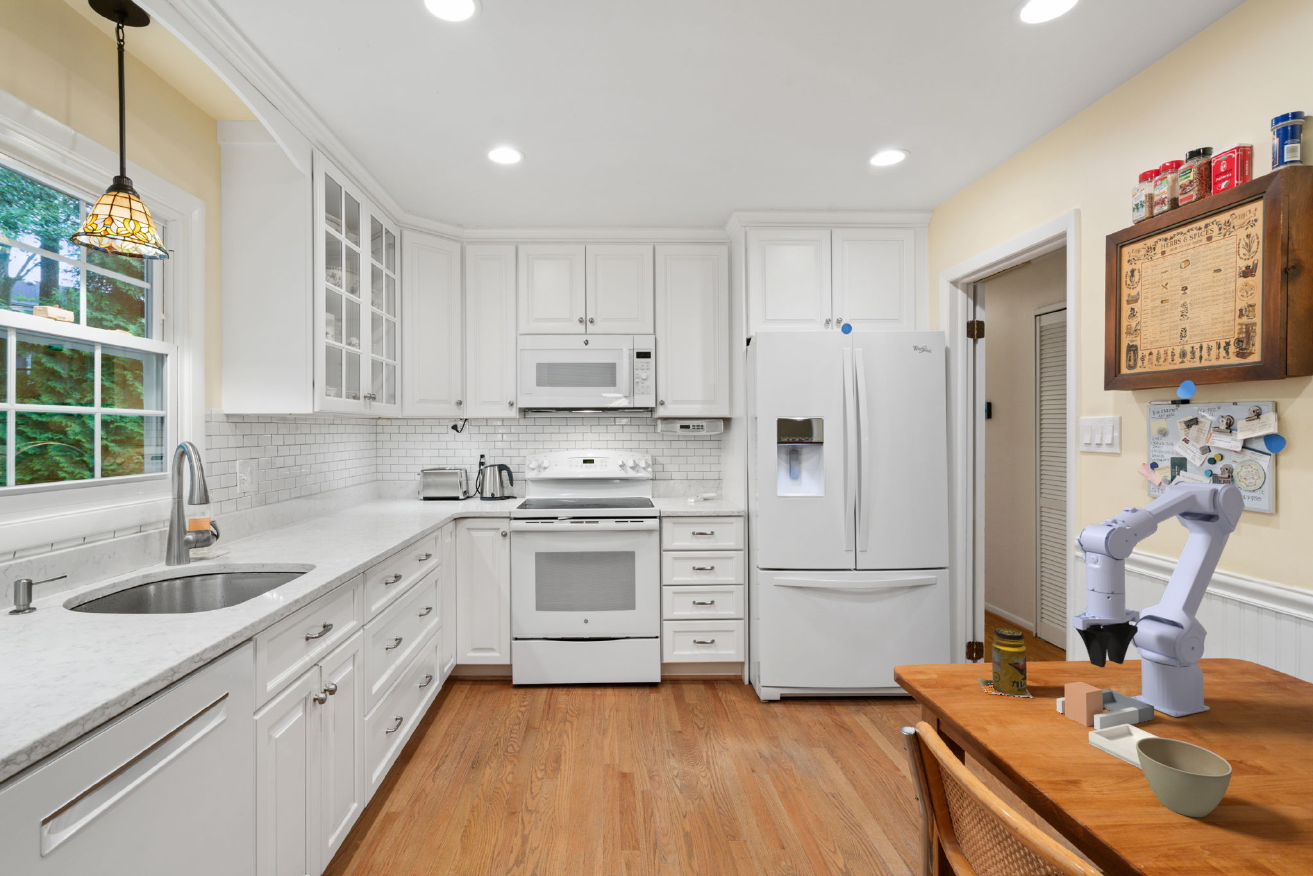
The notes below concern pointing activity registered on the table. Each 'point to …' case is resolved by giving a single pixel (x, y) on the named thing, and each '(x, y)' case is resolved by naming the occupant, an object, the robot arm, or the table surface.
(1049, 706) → the table surface
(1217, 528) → the robot arm
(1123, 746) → the tray
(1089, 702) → the block
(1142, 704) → the grey u-shaped piece
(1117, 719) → the channel
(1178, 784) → the beige bowl
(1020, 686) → the condiment
